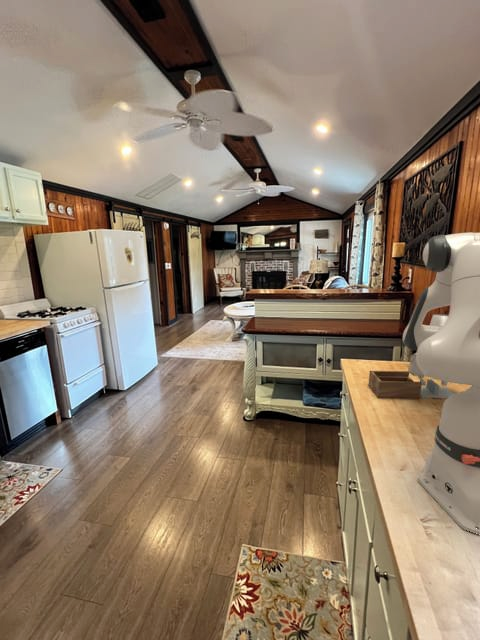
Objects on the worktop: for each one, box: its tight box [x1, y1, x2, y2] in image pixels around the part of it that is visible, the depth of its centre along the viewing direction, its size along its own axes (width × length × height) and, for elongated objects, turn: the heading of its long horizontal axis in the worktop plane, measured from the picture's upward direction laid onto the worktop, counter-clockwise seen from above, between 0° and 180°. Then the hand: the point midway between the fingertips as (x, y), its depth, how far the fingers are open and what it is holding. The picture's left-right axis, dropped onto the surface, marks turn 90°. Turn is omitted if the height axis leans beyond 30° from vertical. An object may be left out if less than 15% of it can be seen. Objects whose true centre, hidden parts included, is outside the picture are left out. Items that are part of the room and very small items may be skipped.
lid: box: [420, 378, 456, 399], centre depth 126 cm, size 8×15×5 cm, turn 87°
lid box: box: [367, 370, 423, 400], centre depth 126 cm, size 11×16×7 cm
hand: (433, 385), depth 125 cm, fingers open, 7 cm apart
